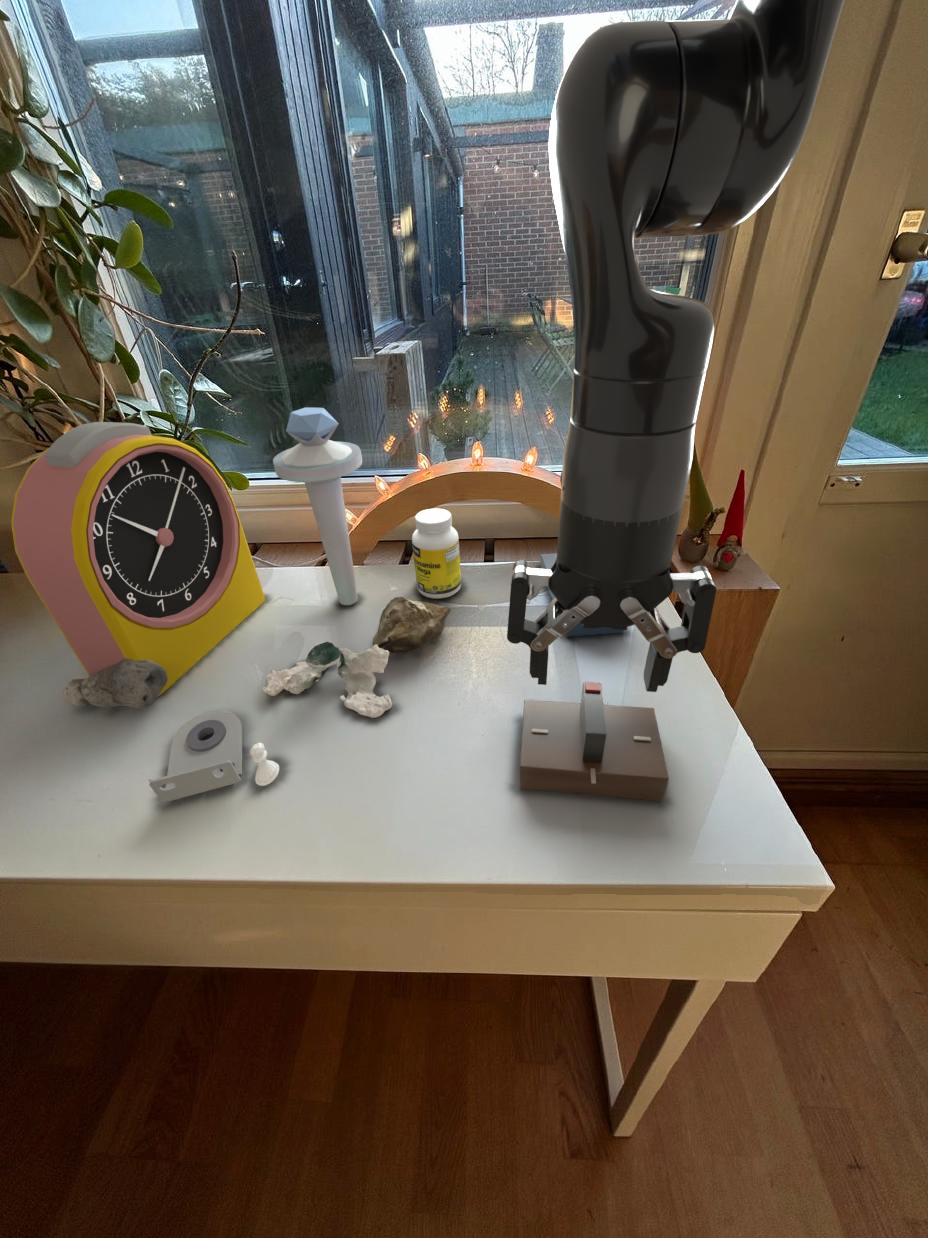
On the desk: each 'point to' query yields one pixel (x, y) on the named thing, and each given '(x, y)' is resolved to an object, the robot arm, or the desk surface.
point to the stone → (119, 685)
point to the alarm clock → (134, 547)
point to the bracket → (202, 756)
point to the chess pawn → (263, 765)
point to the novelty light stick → (324, 487)
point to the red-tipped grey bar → (592, 722)
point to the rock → (349, 668)
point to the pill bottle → (436, 554)
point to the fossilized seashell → (409, 625)
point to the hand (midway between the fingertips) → (595, 681)
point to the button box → (578, 630)
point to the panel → (623, 772)
